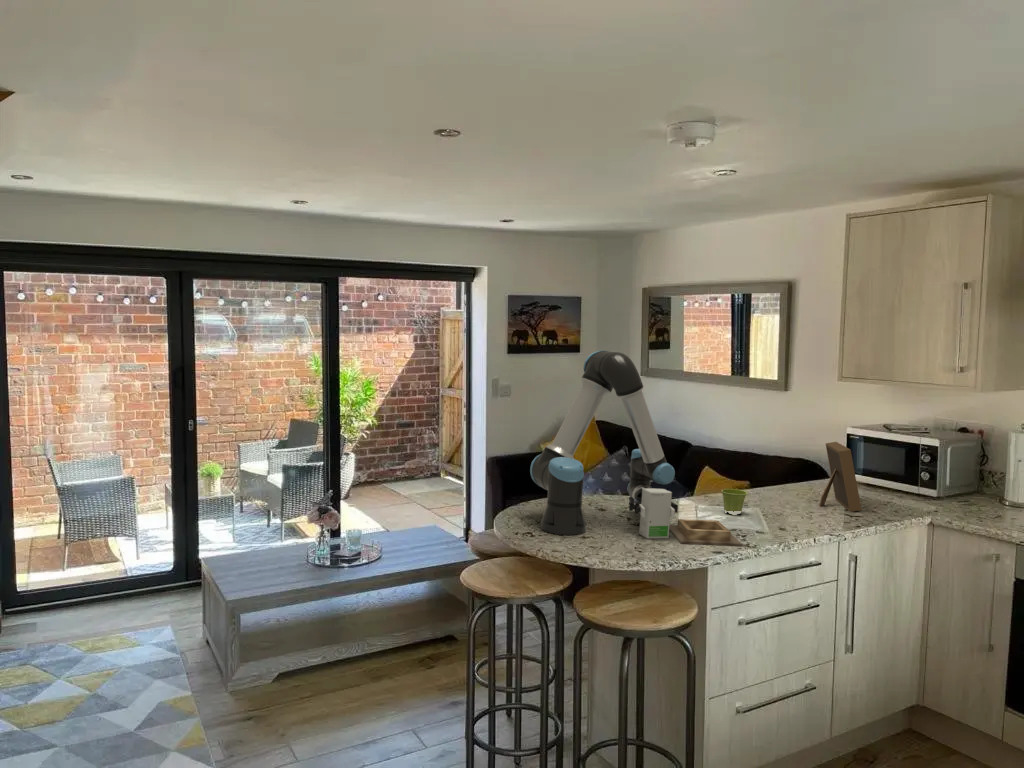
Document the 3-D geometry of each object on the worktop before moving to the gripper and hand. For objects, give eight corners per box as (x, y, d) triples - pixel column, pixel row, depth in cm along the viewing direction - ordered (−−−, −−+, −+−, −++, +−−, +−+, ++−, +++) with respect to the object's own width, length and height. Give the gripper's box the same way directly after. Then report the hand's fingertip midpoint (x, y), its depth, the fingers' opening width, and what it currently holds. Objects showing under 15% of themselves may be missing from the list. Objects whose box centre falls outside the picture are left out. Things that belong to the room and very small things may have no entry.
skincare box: (646, 539, 247) (649, 492, 246) (638, 533, 253) (640, 488, 252) (669, 538, 249) (672, 492, 248) (660, 532, 255) (663, 487, 254)
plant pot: (746, 517, 282) (748, 495, 282) (720, 515, 284) (722, 492, 284) (744, 512, 292) (745, 490, 291) (719, 509, 293) (720, 487, 293)
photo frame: (846, 500, 322) (850, 442, 320) (861, 512, 300) (865, 450, 298) (809, 498, 324) (813, 440, 322) (822, 509, 303) (826, 448, 301)
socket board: (680, 543, 243) (681, 532, 243) (666, 527, 263) (667, 516, 263) (741, 546, 244) (742, 534, 243) (723, 529, 264) (723, 518, 263)
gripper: (674, 509, 269) (690, 526, 246) (613, 506, 268) (624, 523, 246) (675, 488, 268) (692, 503, 246) (615, 486, 268) (626, 500, 245)
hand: (658, 513), depth 246 cm, fingers closed on skincare box, 9 cm apart
